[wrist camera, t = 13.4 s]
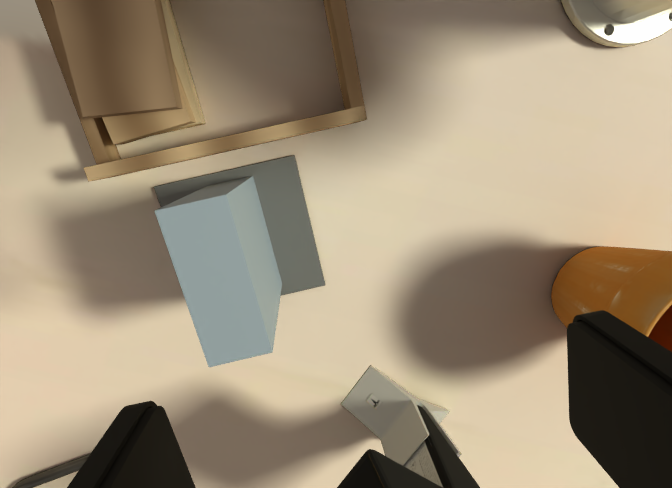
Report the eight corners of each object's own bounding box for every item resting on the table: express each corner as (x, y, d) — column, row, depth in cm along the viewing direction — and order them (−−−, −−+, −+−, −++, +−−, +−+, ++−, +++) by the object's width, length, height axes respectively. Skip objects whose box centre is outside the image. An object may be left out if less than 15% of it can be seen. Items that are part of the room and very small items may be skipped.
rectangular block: (252, 175, 33) (226, 194, 21) (282, 283, 36) (272, 352, 24) (206, 186, 33) (154, 210, 21) (239, 293, 35) (208, 367, 24)
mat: (294, 155, 33) (294, 155, 33) (324, 283, 36) (325, 285, 36) (155, 186, 33) (154, 186, 32) (198, 313, 36) (197, 315, 36)
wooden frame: (314, -117, 28) (316, -158, 24) (359, 121, 33) (366, 119, 29) (27, -58, 28) (-17, -90, 24) (114, 176, 32) (88, 181, 28)
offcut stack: (161, -44, 29) (137, -77, 24) (211, 126, 32) (197, 124, 28) (61, -23, 28) (18, -53, 24) (121, 146, 32) (93, 146, 27)
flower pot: (685, 240, 38) (870, 288, 26) (620, 364, 42) (758, 460, 29) (561, 201, 36) (698, 232, 24) (503, 334, 39) (597, 425, 27)
